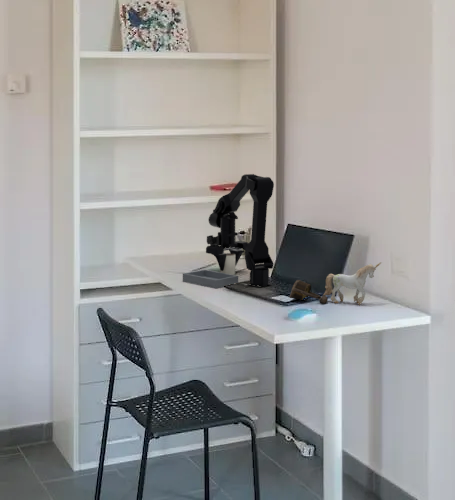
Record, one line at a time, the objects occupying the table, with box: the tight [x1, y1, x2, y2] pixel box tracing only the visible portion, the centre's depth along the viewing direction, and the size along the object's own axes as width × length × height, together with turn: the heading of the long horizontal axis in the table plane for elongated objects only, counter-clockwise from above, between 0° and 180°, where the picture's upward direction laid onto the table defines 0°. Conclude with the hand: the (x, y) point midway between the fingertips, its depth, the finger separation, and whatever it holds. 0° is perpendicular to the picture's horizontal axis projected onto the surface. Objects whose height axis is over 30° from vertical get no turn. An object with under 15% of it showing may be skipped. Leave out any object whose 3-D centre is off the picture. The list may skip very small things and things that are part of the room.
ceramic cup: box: [219, 252, 236, 275], centre depth 344 cm, size 6×6×8 cm
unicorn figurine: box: [322, 262, 382, 306], centre depth 297 cm, size 7×20×13 cm, turn 89°
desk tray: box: [182, 269, 239, 289], centre depth 329 cm, size 18×12×3 cm, turn 46°
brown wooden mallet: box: [289, 279, 328, 304], centre depth 299 cm, size 7×13×10 cm
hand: (227, 269), depth 344 cm, fingers closed on ceramic cup, 6 cm apart
